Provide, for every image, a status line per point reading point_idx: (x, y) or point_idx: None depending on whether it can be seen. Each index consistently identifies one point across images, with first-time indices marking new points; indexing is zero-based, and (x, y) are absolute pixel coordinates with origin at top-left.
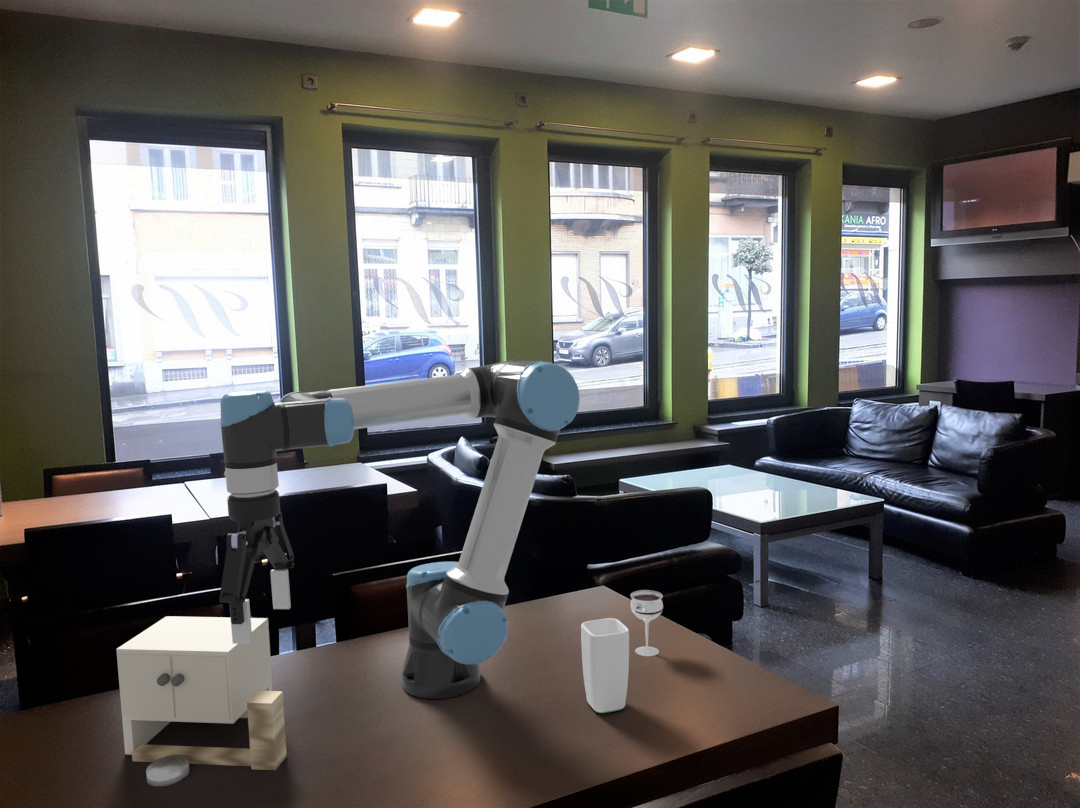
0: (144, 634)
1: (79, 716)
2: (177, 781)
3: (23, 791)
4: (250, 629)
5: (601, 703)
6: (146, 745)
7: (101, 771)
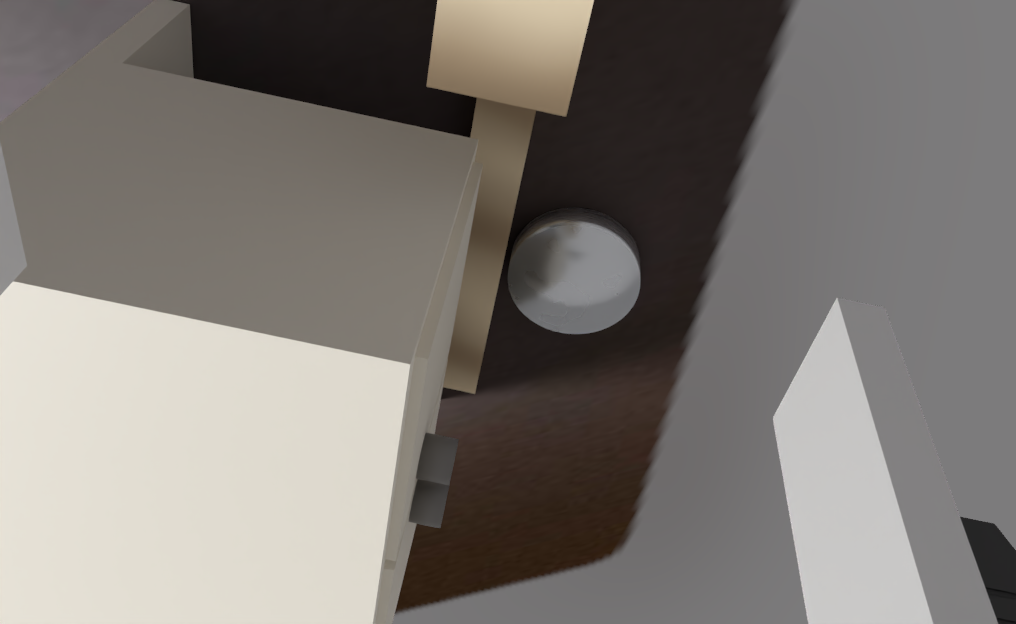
0: None
1: None
2: (623, 227)
3: (594, 542)
4: (885, 392)
5: None
6: None
7: (525, 427)
